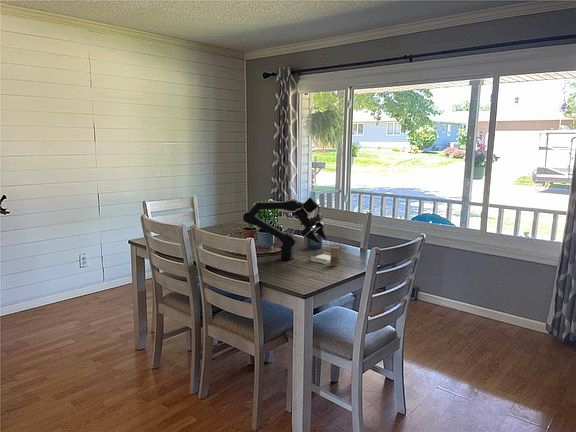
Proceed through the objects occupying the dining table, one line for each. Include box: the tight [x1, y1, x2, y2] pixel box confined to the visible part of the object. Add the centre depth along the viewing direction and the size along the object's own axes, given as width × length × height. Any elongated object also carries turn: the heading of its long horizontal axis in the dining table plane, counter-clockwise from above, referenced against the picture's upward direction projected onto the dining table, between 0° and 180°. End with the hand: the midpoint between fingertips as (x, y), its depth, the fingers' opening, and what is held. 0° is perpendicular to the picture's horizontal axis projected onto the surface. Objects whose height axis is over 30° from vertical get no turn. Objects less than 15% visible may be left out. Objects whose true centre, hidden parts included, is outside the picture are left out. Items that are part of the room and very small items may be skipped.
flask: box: [306, 231, 323, 250], centre depth 264 cm, size 9×3×11 cm, turn 88°
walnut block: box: [329, 245, 342, 268], centre depth 229 cm, size 4×4×10 cm
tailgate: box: [309, 251, 331, 265], centre depth 240 cm, size 13×11×2 cm
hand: (322, 240), depth 232 cm, fingers open, 9 cm apart
